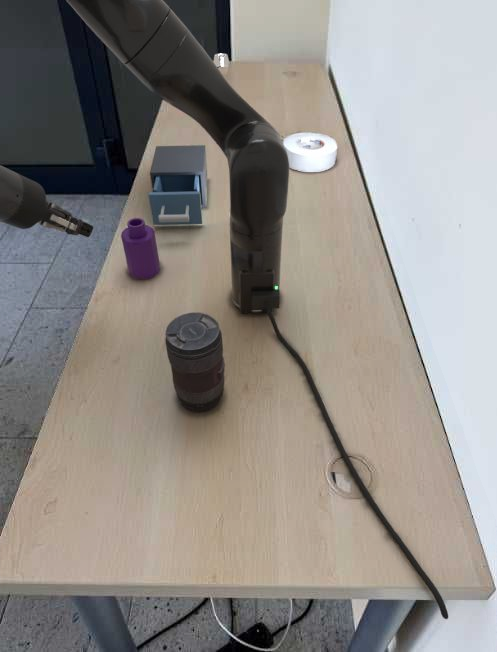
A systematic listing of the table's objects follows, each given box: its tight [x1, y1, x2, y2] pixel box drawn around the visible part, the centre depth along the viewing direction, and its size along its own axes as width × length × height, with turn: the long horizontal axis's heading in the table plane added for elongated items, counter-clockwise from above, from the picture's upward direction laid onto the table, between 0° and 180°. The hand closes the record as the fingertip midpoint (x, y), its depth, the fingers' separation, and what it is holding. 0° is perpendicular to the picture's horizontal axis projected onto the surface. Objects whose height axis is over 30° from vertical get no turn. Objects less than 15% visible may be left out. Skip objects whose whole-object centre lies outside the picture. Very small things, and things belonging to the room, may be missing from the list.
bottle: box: [120, 217, 161, 280], centre depth 98 cm, size 6×6×12 cm
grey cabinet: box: [149, 144, 209, 209], centre depth 122 cm, size 15×13×10 cm
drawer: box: [148, 175, 203, 226], centre depth 113 cm, size 20×11×8 cm, turn 2°
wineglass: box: [213, 52, 230, 76], centre depth 177 cm, size 6×6×12 cm
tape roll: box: [282, 131, 338, 173], centre depth 138 cm, size 15×15×5 cm
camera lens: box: [164, 312, 226, 414], centre depth 73 cm, size 8×8×15 cm
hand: (88, 230), depth 86 cm, fingers closed
